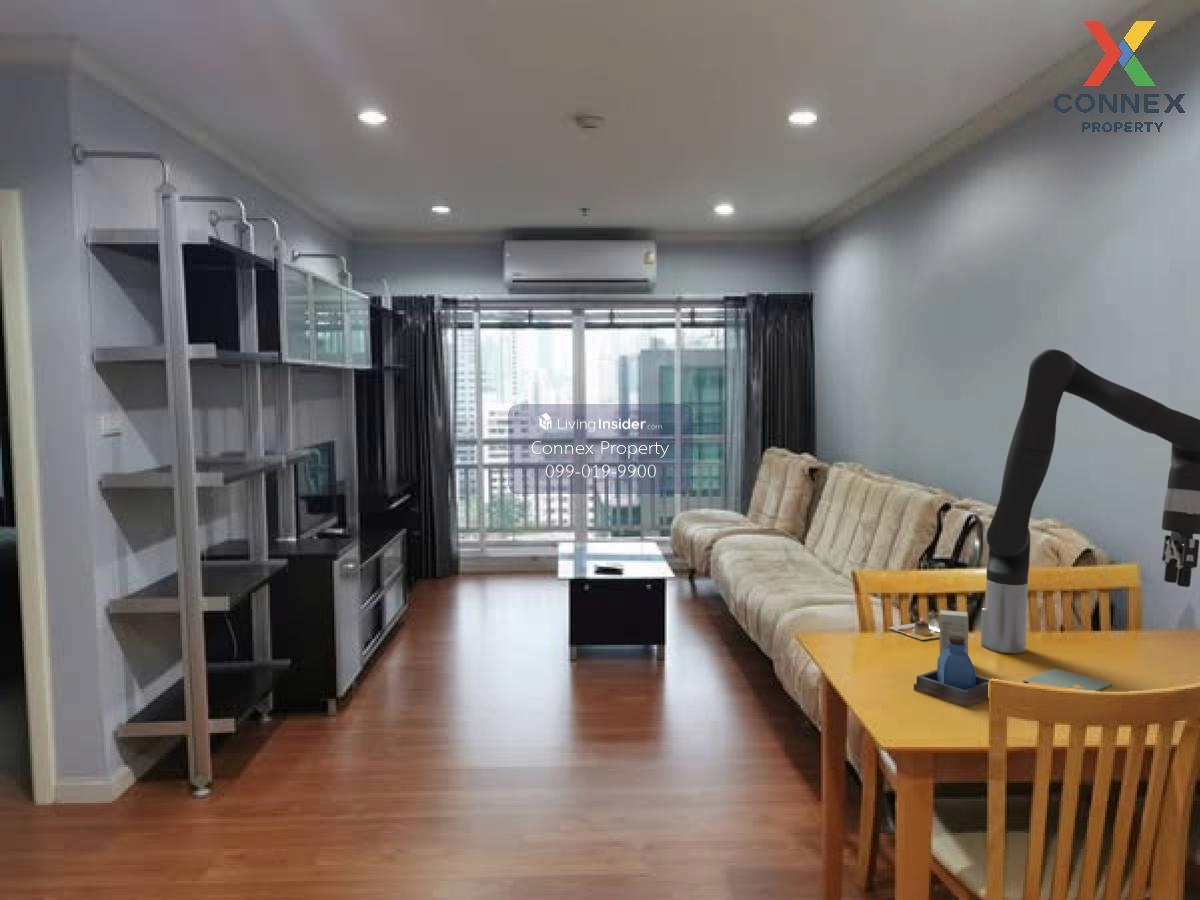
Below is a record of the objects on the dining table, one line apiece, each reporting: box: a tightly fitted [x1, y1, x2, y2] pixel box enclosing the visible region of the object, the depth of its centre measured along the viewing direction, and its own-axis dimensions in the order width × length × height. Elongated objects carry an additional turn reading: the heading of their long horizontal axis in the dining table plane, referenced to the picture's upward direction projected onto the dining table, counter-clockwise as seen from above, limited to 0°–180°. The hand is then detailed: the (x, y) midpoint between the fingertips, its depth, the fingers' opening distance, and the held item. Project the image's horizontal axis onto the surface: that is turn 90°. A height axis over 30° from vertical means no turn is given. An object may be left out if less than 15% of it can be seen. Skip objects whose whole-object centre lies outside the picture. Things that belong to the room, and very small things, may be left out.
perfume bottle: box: [936, 635, 977, 690], centre depth 168 cm, size 6×6×12 cm
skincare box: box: [939, 609, 969, 656], centre depth 187 cm, size 6×4×12 cm
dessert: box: [888, 616, 940, 641], centre depth 212 cm, size 12×12×5 cm
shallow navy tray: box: [913, 669, 990, 708], centre depth 168 cm, size 12×12×3 cm
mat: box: [1022, 667, 1112, 692], centre depth 173 cm, size 12×14×1 cm
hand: (1176, 584), depth 173 cm, fingers open, 8 cm apart
